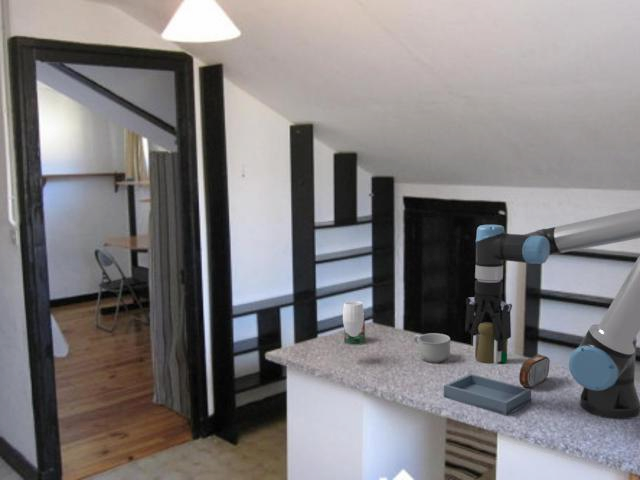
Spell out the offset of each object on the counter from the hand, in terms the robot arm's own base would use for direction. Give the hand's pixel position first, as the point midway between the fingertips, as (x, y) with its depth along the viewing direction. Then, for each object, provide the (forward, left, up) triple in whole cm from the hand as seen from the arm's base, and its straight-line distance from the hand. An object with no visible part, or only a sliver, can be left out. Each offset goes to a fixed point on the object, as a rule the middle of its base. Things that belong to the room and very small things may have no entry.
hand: (486, 359), depth 184 cm
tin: (-4, -21, -12) cm, 25 cm away
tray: (0, 0, -12) cm, 12 cm away
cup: (+51, +1, -12) cm, 52 cm away
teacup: (+34, -20, -12) cm, 41 cm away
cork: (0, 0, -1) cm, 1 cm away
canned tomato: (+67, -17, -12) cm, 70 cm away
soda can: (+15, -33, -12) cm, 38 cm away
